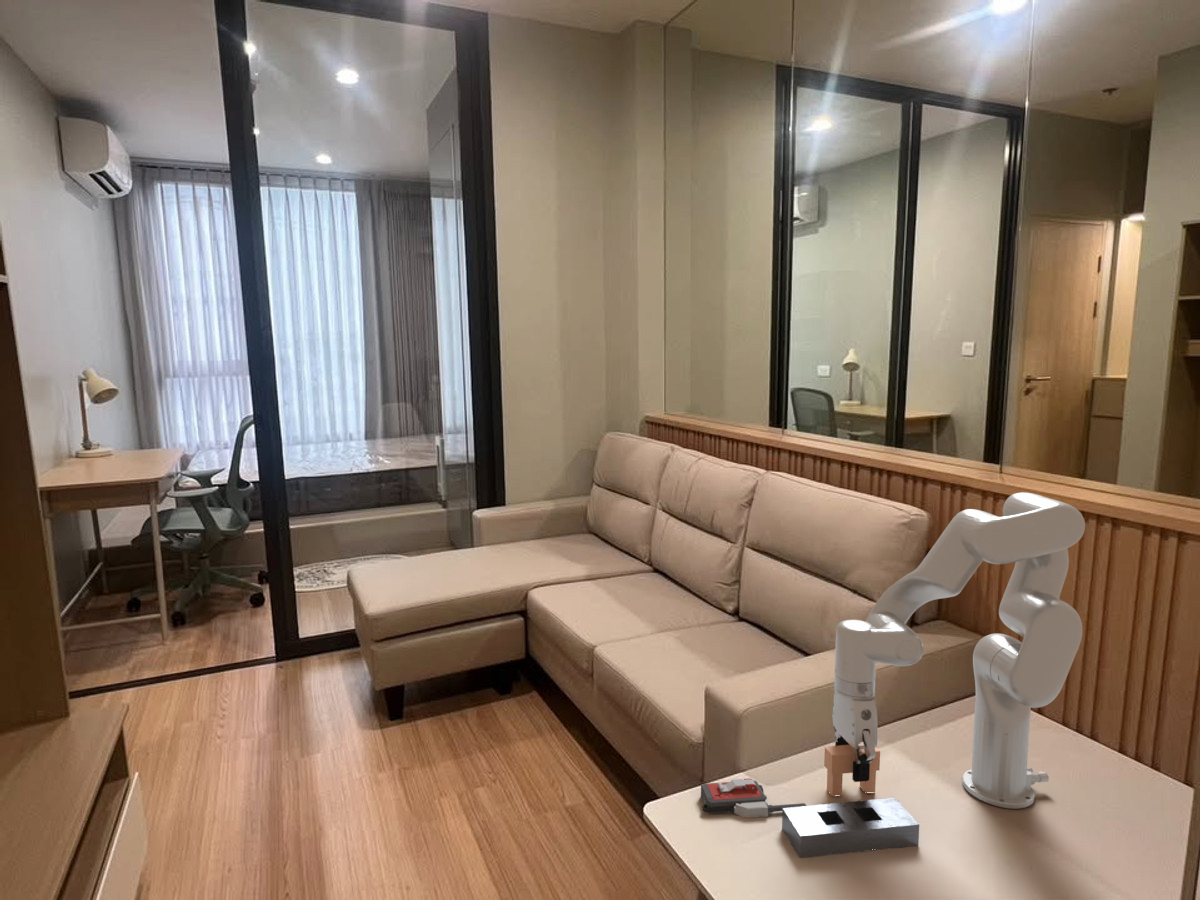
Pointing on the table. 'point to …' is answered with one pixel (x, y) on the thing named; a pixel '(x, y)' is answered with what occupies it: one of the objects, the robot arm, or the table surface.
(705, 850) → the table surface
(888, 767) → the table surface
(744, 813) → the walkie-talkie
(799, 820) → the metal socket block
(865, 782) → the tan forked block
